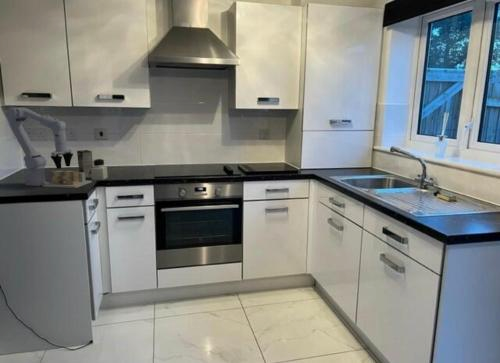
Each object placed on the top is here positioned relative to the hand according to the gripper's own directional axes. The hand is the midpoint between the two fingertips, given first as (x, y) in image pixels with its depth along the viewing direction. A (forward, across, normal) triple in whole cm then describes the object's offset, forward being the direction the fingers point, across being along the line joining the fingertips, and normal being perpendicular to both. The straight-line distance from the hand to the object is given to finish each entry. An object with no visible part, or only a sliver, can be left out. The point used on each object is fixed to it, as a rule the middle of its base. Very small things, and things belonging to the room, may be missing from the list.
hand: (63, 167), depth 205 cm
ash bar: (+7, 0, 0) cm, 7 cm away
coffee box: (+10, +28, +5) cm, 30 cm away
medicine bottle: (+10, +20, -9) cm, 24 cm away
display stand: (+10, +2, 0) cm, 10 cm away
